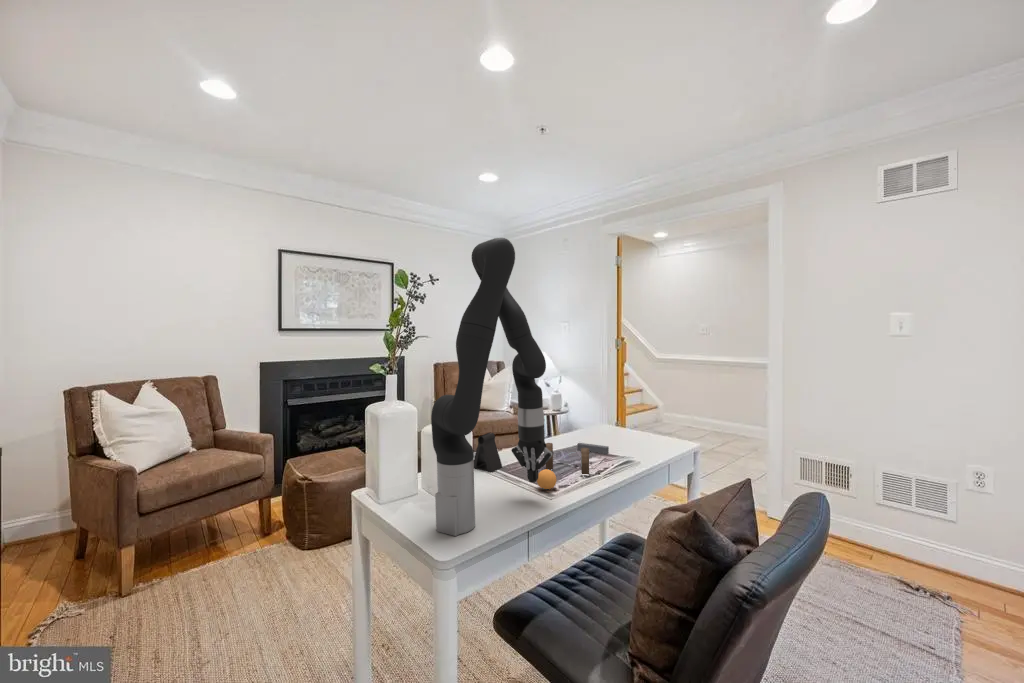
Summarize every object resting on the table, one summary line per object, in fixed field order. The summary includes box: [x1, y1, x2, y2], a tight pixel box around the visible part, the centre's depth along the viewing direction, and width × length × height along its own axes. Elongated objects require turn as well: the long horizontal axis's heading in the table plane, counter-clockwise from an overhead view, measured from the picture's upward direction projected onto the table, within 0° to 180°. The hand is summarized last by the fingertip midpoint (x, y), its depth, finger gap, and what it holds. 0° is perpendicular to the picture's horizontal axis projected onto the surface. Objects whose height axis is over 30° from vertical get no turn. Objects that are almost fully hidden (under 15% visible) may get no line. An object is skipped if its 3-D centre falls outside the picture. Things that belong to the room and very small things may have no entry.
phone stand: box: [474, 432, 503, 473], centre depth 152 cm, size 9×6×12 cm, turn 55°
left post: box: [545, 442, 554, 470], centre depth 149 cm, size 3×3×9 cm
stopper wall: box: [576, 442, 609, 455], centre depth 169 cm, size 2×12×2 cm, turn 60°
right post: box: [580, 448, 590, 475], centre depth 143 cm, size 3×3×9 cm
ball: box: [536, 468, 557, 490], centre depth 132 cm, size 6×6×6 cm
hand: (533, 481), depth 124 cm, fingers closed
